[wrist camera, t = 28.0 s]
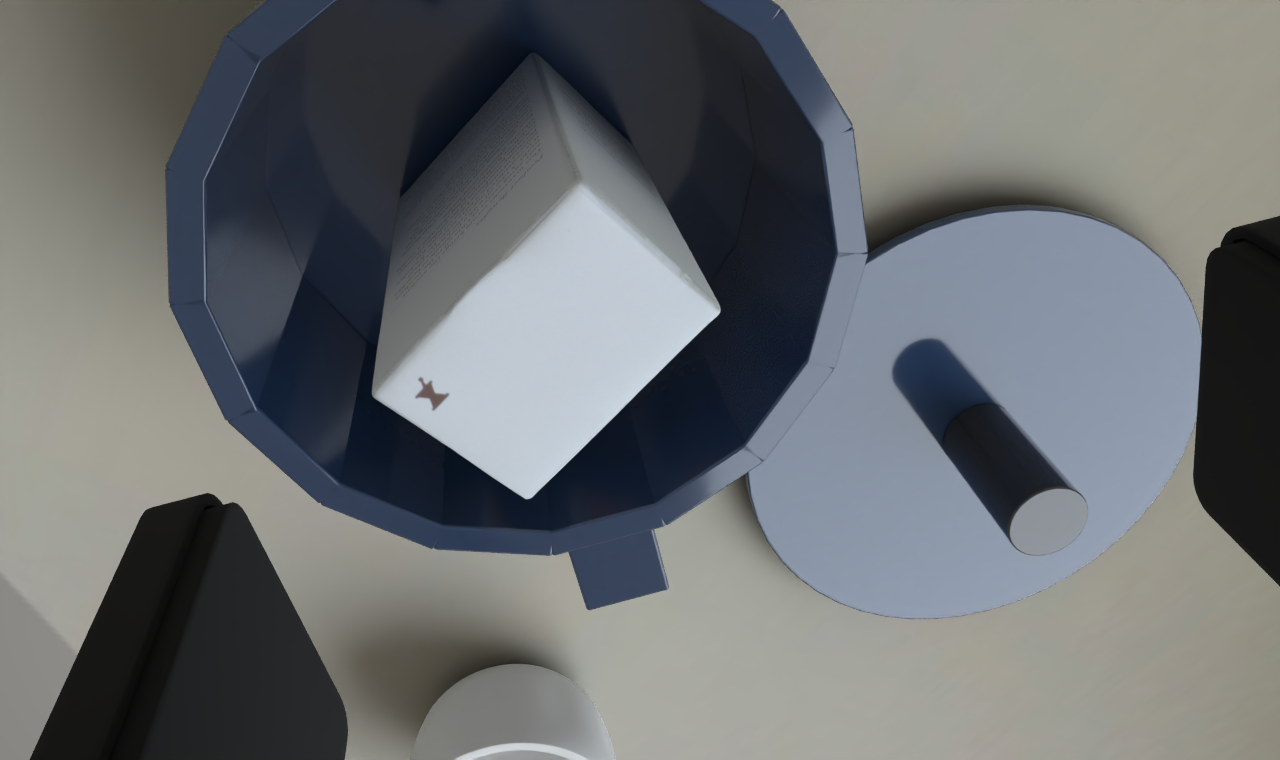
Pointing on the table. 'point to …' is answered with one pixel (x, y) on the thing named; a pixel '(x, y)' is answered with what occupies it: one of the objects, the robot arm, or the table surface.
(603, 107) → the pot
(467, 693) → the teacup
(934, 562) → the pot lid
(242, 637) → the robot arm
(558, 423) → the cosmetic box
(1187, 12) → the table surface
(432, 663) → the table surface
